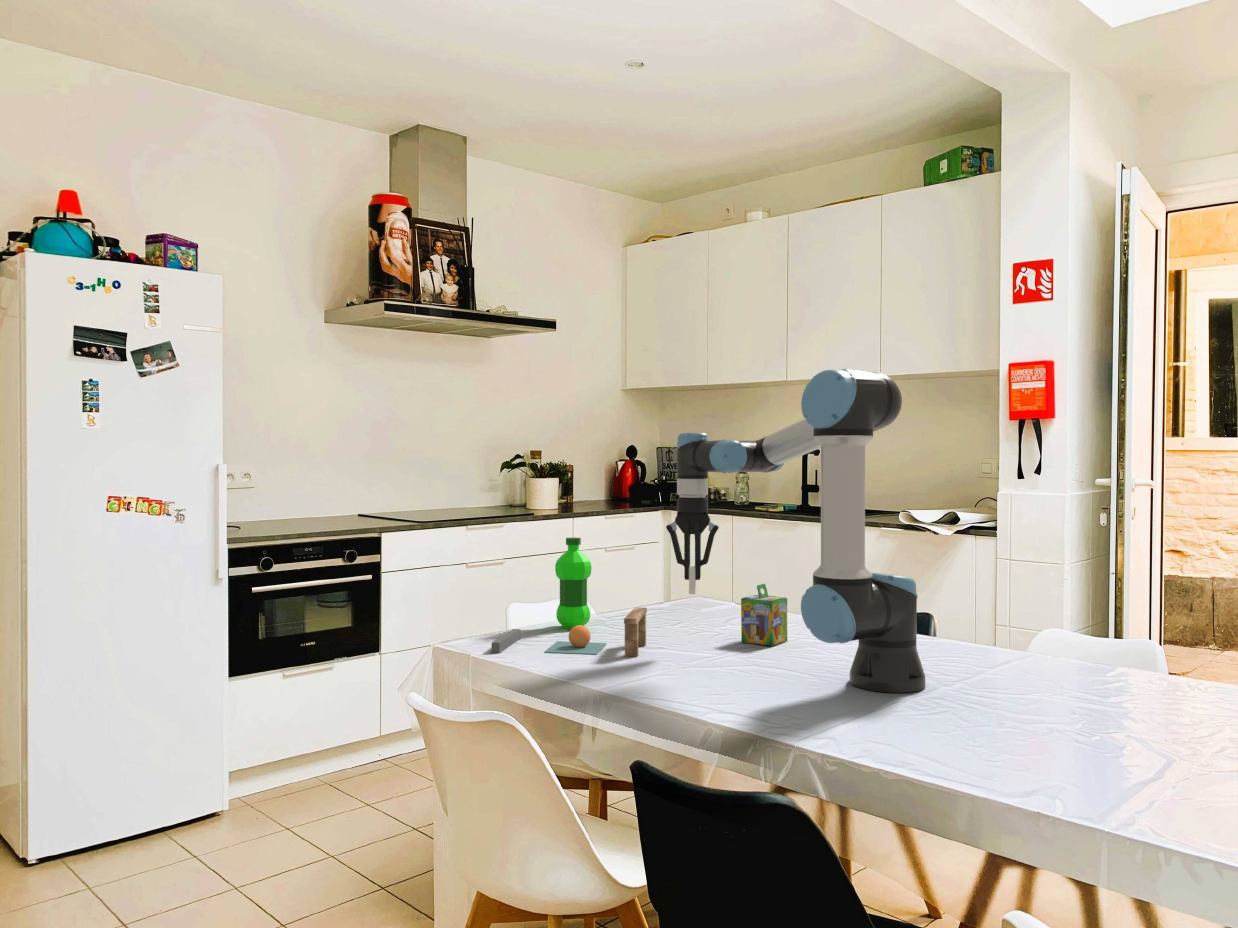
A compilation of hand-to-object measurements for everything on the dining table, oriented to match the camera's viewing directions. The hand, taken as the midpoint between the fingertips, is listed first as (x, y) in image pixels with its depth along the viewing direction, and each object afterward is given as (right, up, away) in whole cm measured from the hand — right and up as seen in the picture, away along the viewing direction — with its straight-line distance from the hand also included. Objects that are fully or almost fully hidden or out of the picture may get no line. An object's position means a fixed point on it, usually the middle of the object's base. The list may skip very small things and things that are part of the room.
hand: (692, 593), depth 220 cm
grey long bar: (-46, -14, +8) cm, 49 cm away
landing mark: (-29, -14, +5) cm, 32 cm away
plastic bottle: (-31, -15, +33) cm, 47 cm away
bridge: (-14, -14, +3) cm, 20 cm away
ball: (-28, -12, +6) cm, 31 cm away
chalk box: (+20, -15, +13) cm, 28 cm away
